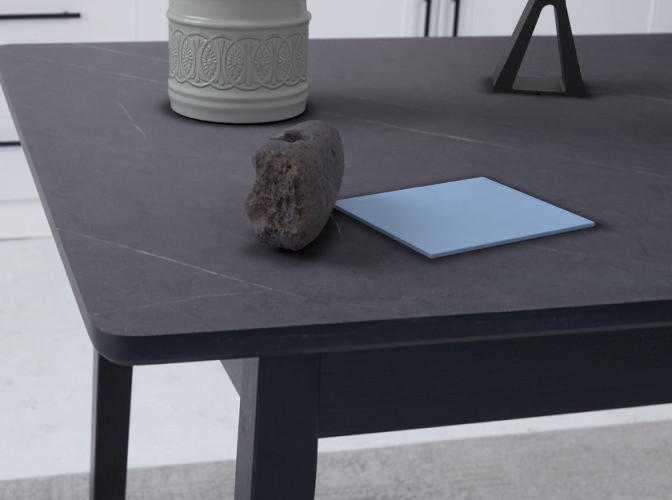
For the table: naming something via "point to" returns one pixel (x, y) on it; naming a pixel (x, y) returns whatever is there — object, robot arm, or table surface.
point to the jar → (238, 59)
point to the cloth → (459, 216)
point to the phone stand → (518, 45)
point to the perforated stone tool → (295, 184)
